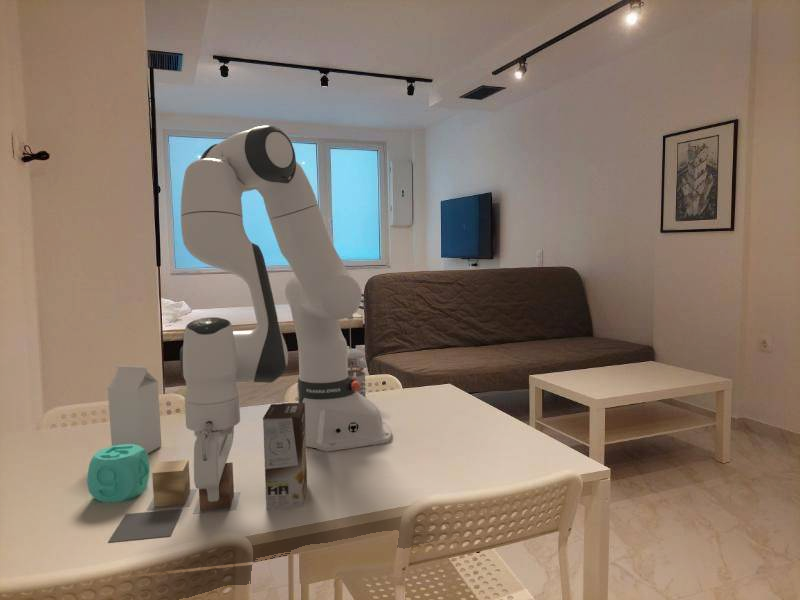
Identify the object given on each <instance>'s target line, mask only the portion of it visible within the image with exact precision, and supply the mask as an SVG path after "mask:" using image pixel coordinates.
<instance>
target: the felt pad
mask: <svg viewBox="0 0 800 600" xmlns="http://www.w3.org/2000/svg"><path fill="white" fill-rule="evenodd" d="M182 512H183V508H177V509H167V510H166V509H165V510H154V511H146V512H145V511H144V512H131V513H125V514H124V516H123V518H122V519H121V521H120V522H119V524H118V525H117V527H116V528H115V530H114V531H113V534H112V535H111V536H110V538H109V540H108V541H107V543H109V544H110V543H118V542H119V543H120V542H130V541H137V540H138V541H142V540H148V539H150V540H151V539H161V538H169V537H171V536H172V534H173V533H174V530H175V528H176V525H177V523H178V521H179V519H180V516H181V514H182Z"/></svg>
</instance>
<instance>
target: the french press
mask: <svg viewBox="0 0 800 600" xmlns="http://www.w3.org/2000/svg"><path fill="white" fill-rule="evenodd" d="M346 319H347V320H353V319H354V314H353V315H352V316H350V317H348V318H346ZM351 326H352V325H351V324H349V341H350V342H349V345H350V346H349V348H347V360H350V361H351V362H353V365H352V364H350V365H348V375H349V376H351V377H352V376H353V377H354V378H355V379H356V380H357V381H358V382H359V383H360V386H361V387H360V389H359V390H358V391H357V392H358V393H359V394H361V395H362V396H364V397H365V398H366V397H367V396H366V395H367V393H366V372H364V367H363V366H361V362H360V359H361V358H364V357H365V356H366V352H363V351H362V350H359V349H358V348H352V339H351V338H352V335H351V332H352V331H351V330H352V329H351V328H352V327H351ZM355 359H356V360H355ZM357 361H358V365H355V362H357Z"/></svg>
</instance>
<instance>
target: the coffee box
mask: <svg viewBox="0 0 800 600" xmlns="http://www.w3.org/2000/svg"><path fill="white" fill-rule="evenodd" d="M262 423H263V424H262V427H263V451H264V453H263V455H264V478H265V481H264V483H265V509H266V510H278V509H294V508H295V509H296V508H302V507H303V506H304V502H305V496H306V492H307V489H308V488H307V487H308V471H307V470H308V468H307V446H306V429H305V403H299V402H287V403H283V402H282V403H271V404H270V406H269V407H268V409H267V410H266V412H265V414H264V415H263V417H262Z"/></svg>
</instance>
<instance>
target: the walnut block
mask: <svg viewBox="0 0 800 600" xmlns="http://www.w3.org/2000/svg"><path fill="white" fill-rule="evenodd" d="M219 487H220V497H219V500H218V501H213V502H210V501H208V494H207V490H206V489H198V499H199V502H200V510H209V509H220V508H231V504H232V500H233V497H234V492H235V491H234V490H235V487H234V467H233V462H232V461H231V462H226V464H225V467H224V470H223V473H222V476H221V479H220V482H219Z"/></svg>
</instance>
